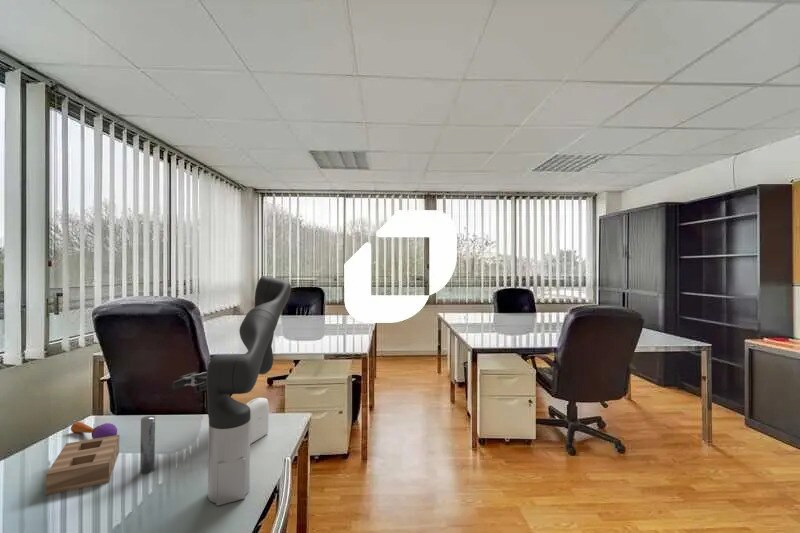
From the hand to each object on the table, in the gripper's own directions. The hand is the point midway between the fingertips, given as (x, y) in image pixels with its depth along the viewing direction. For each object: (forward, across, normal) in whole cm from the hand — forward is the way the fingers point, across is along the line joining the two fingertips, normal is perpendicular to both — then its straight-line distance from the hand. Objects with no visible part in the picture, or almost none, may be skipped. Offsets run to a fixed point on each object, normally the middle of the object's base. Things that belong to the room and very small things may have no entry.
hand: (184, 387), depth 113 cm
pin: (+11, 0, +19) cm, 22 cm away
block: (+17, -14, +19) cm, 29 cm away
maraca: (+3, -34, +19) cm, 39 cm away
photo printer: (-14, +14, +19) cm, 27 cm away
